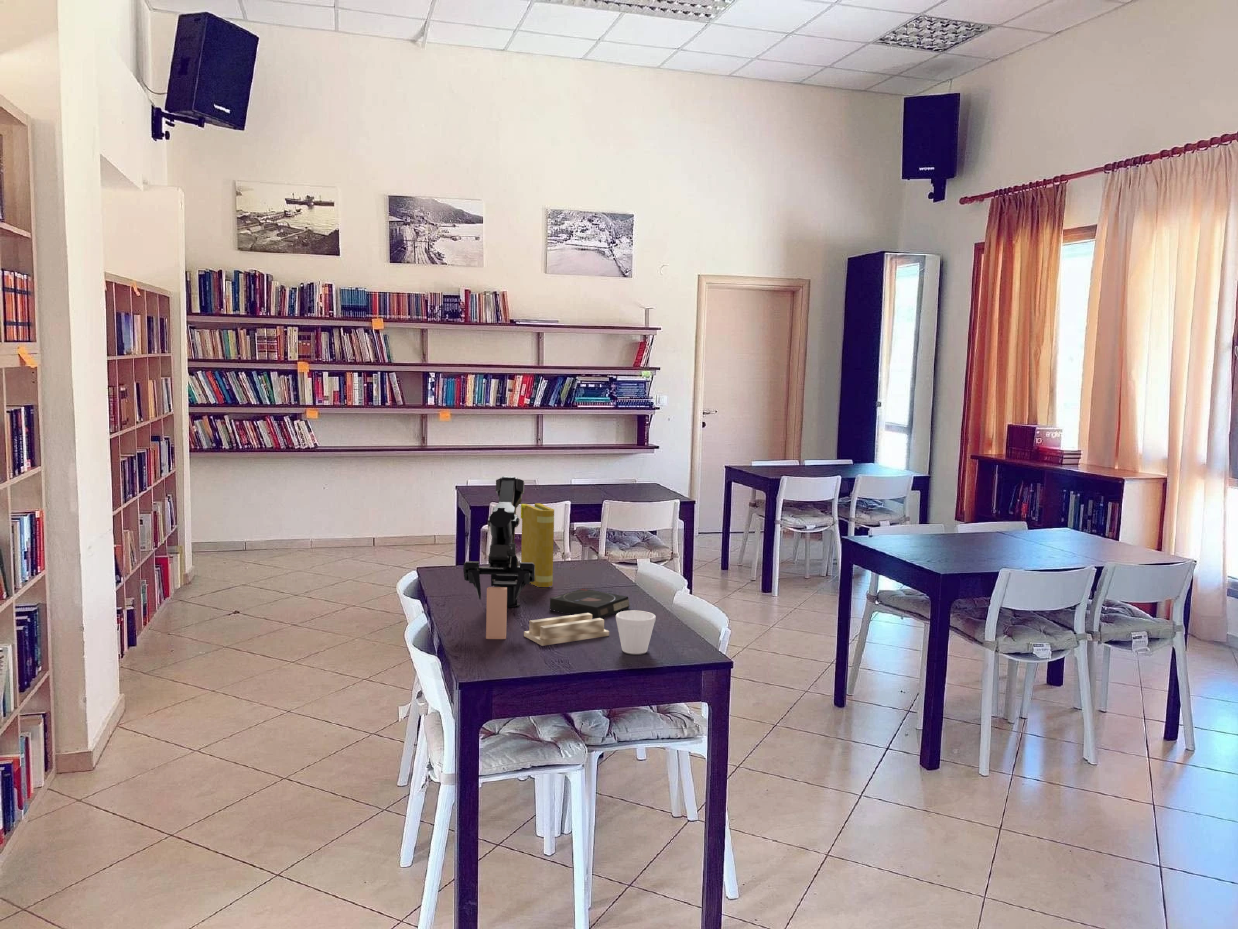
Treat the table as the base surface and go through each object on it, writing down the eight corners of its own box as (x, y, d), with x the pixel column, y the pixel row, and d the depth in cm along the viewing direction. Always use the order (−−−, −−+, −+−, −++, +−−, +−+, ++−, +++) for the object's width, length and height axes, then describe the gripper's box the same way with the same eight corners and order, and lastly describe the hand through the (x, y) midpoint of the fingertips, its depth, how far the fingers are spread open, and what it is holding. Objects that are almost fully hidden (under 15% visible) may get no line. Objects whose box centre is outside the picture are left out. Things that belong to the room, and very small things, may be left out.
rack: (589, 626, 253) (589, 611, 253) (609, 635, 245) (609, 620, 245) (523, 636, 242) (524, 620, 242) (542, 645, 234) (542, 629, 234)
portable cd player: (598, 621, 261) (598, 607, 260) (549, 611, 270) (550, 598, 270) (629, 610, 275) (629, 597, 274) (582, 601, 284) (582, 588, 283)
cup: (613, 645, 236) (614, 610, 235) (652, 646, 237) (653, 610, 236) (615, 657, 226) (617, 620, 225) (656, 658, 227) (658, 620, 226)
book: (519, 577, 312) (520, 503, 309) (538, 576, 315) (540, 503, 312) (536, 588, 296) (538, 511, 294) (556, 587, 299) (558, 510, 297)
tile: (486, 636, 241) (487, 587, 240) (506, 636, 242) (507, 587, 240) (486, 638, 239) (486, 589, 238) (505, 639, 239) (506, 589, 238)
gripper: (464, 531, 245) (459, 581, 235) (535, 532, 246) (533, 582, 236) (467, 555, 253) (462, 604, 243) (535, 556, 255) (533, 605, 244)
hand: (497, 599), depth 242 cm, fingers open, 9 cm apart
